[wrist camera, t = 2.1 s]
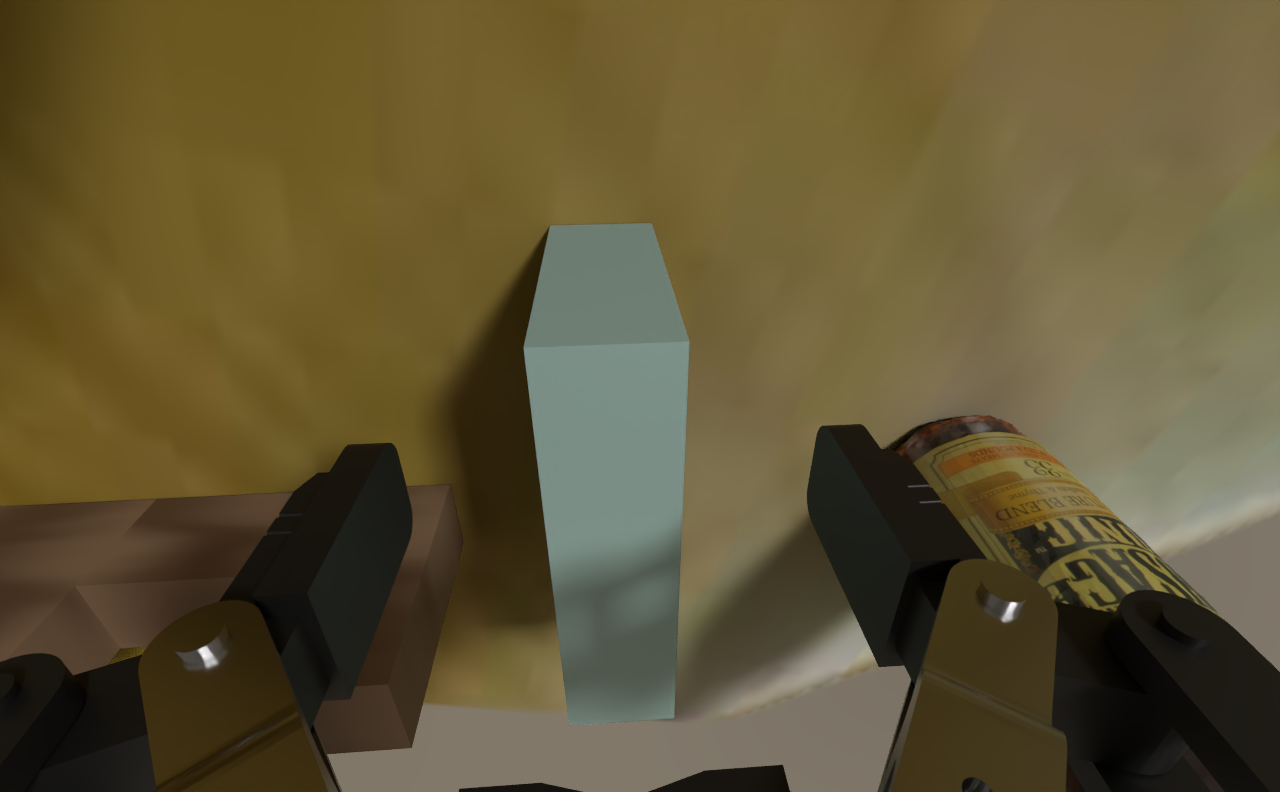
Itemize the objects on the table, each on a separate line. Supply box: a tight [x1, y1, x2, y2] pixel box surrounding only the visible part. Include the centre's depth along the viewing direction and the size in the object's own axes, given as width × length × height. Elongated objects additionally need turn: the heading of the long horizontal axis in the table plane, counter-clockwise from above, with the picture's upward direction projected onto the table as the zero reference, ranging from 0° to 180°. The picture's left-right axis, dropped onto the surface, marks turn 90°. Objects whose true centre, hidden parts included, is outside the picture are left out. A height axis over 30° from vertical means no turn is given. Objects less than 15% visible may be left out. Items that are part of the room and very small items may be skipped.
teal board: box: [524, 223, 689, 726], centre depth 17 cm, size 12×3×8 cm, turn 0°
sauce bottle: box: [895, 415, 1272, 792], centre depth 15 cm, size 7×6×20 cm
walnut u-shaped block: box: [0, 485, 463, 754], centre depth 19 cm, size 16×3×8 cm, turn 90°
